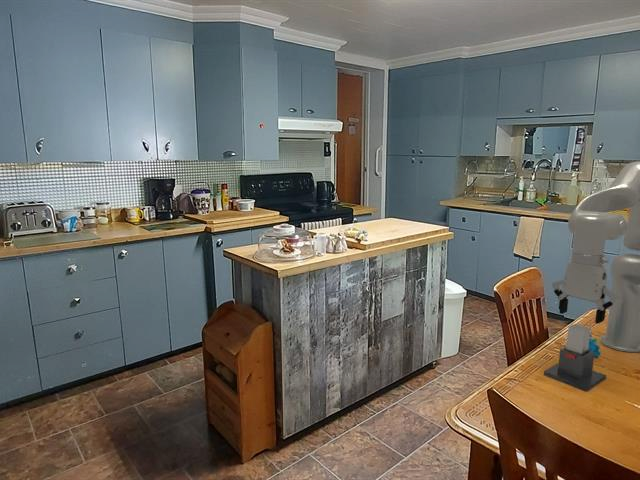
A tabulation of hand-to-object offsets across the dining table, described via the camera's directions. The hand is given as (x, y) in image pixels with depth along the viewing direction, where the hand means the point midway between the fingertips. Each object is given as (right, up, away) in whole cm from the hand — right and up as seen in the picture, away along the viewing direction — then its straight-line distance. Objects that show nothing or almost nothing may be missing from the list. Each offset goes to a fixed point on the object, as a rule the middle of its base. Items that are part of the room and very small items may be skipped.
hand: (580, 317), depth 126 cm
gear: (+13, -15, +19) cm, 28 cm away
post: (0, -17, +3) cm, 17 cm away
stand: (0, -18, +3) cm, 18 cm away
